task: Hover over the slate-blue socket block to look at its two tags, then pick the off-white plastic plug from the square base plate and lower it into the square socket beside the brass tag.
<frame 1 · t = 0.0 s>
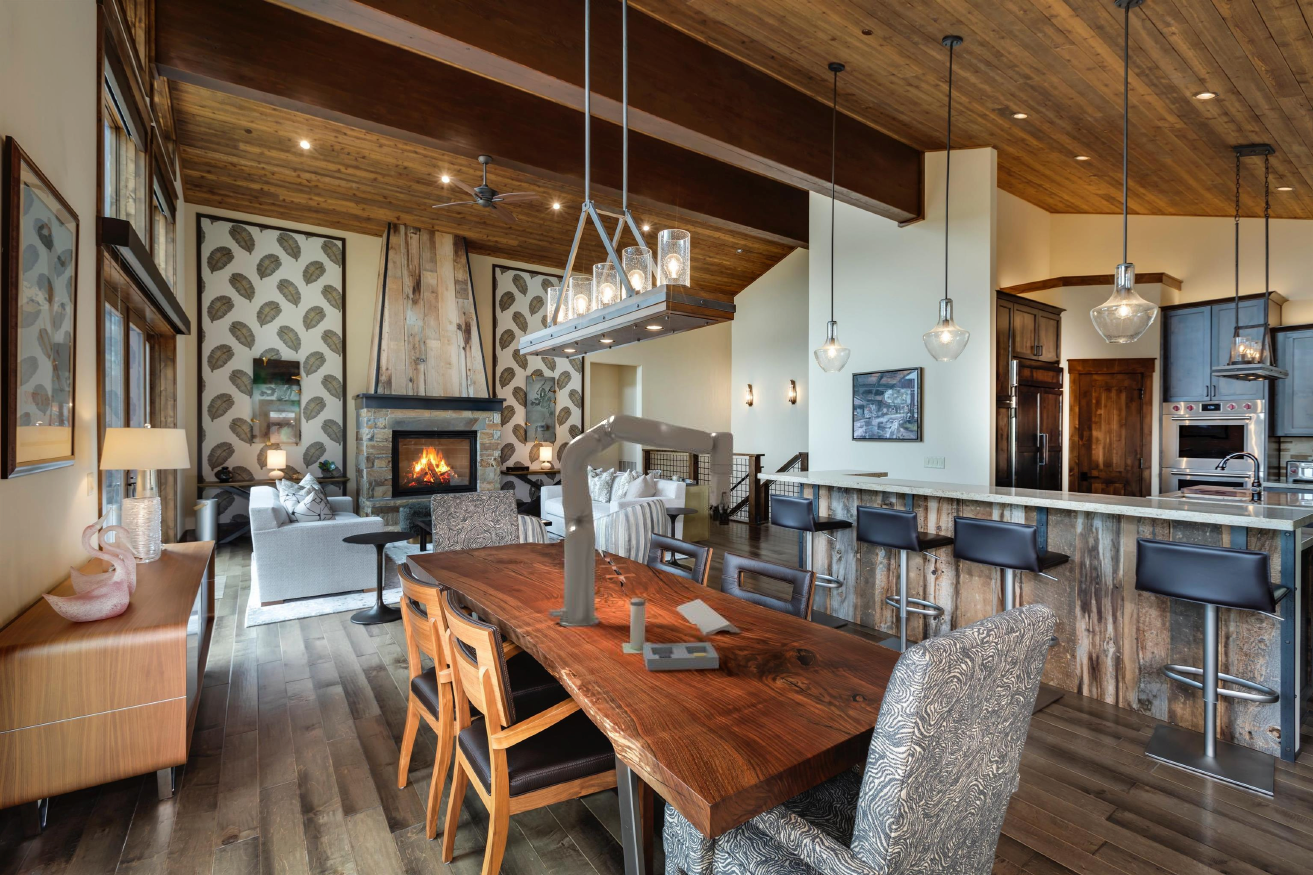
hand: (720, 523, 202), 31 cm above the table, fingers open, 9 cm apart
square base plate: (637, 651, 171), on the table
crown molding: (707, 622, 201), on the table
socket block: (679, 665, 161), on the table
plug: (637, 647, 171), point 1 cm above the table, touching square base plate
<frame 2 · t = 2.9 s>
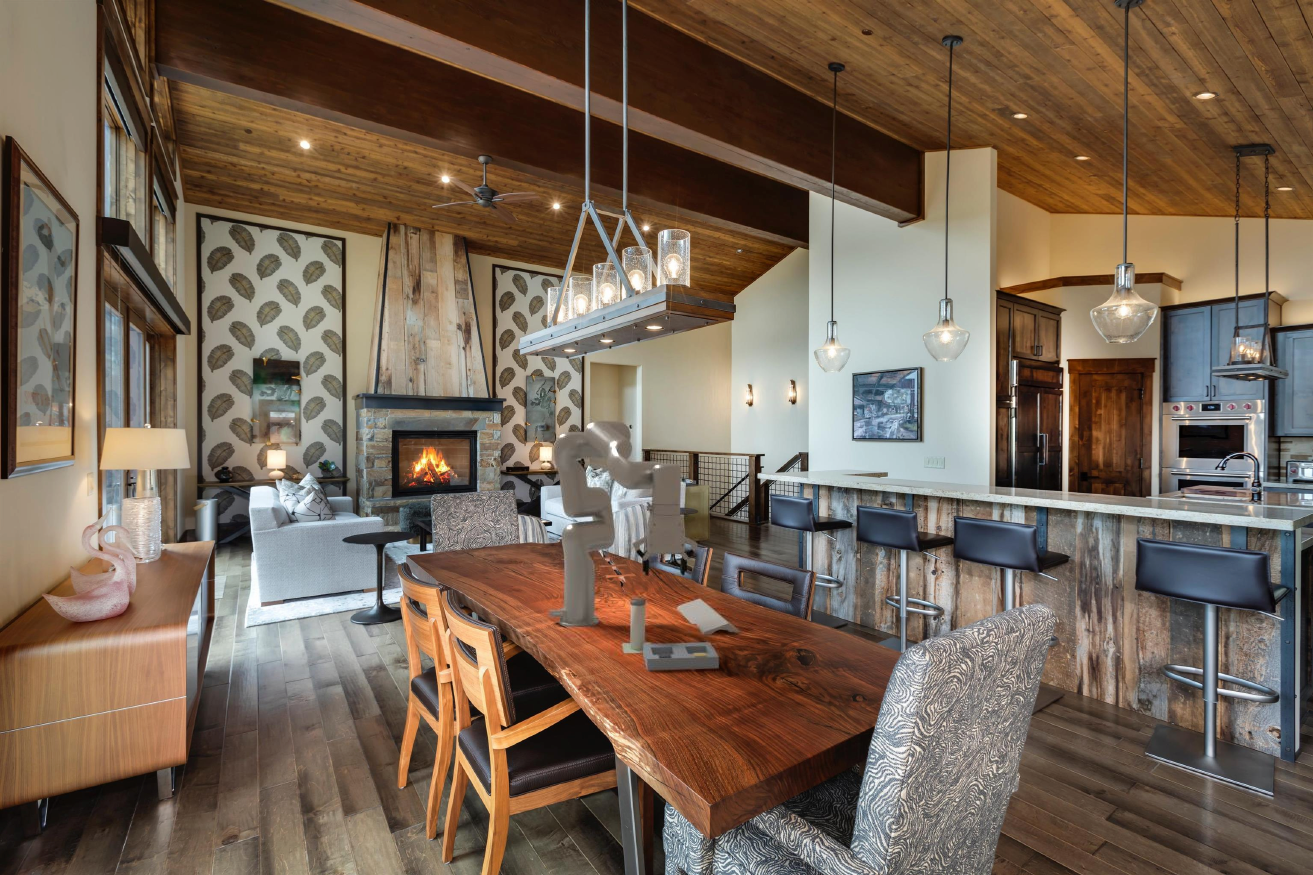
hand: (664, 574, 166), 22 cm above the table, fingers open, 9 cm apart
nothing on the table moved.
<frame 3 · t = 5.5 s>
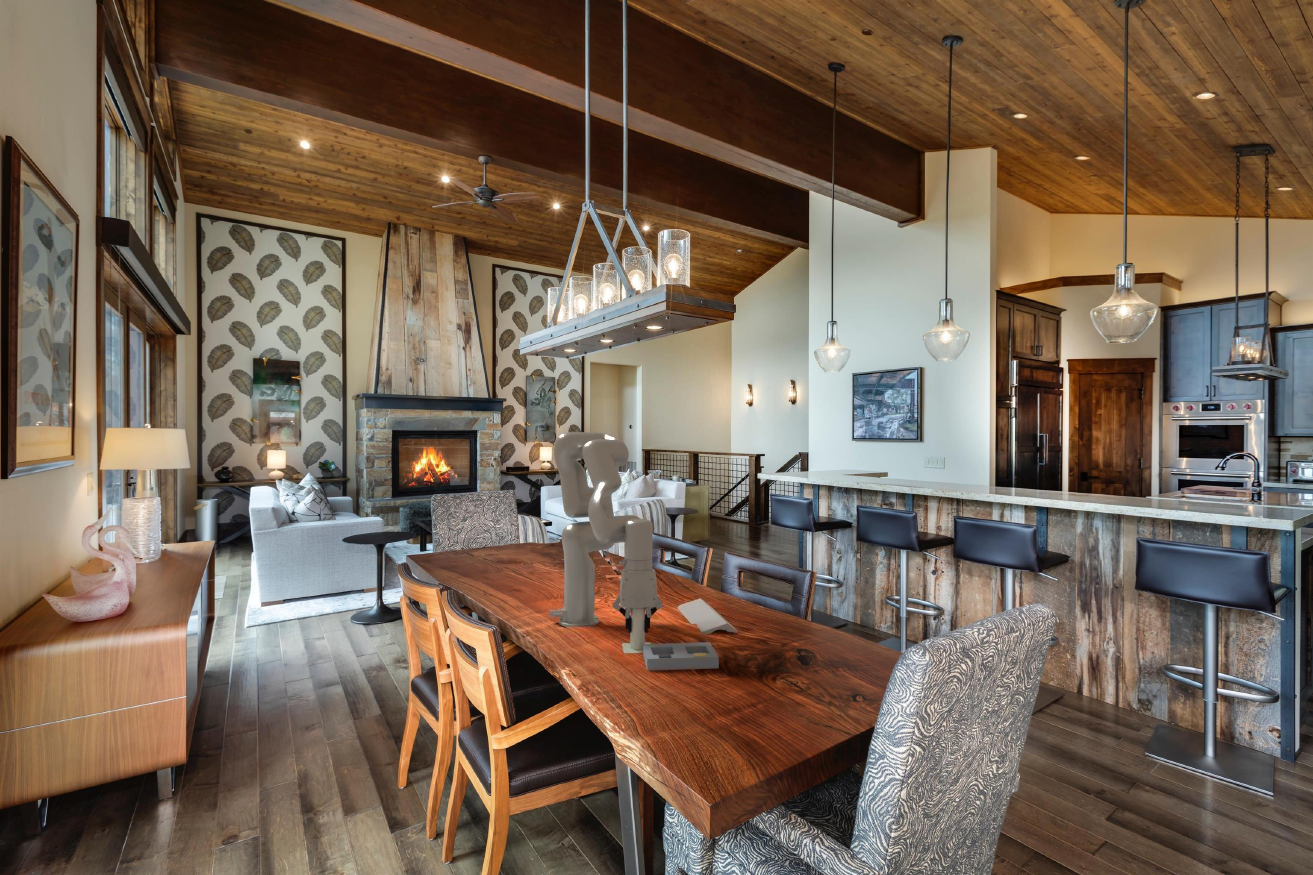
hand: (637, 630, 171), 6 cm above the table, fingers closed on plug, 4 cm apart
plug: (637, 647, 171), point 1 cm above the table, touching square base plate, gripper
everything else where it was.
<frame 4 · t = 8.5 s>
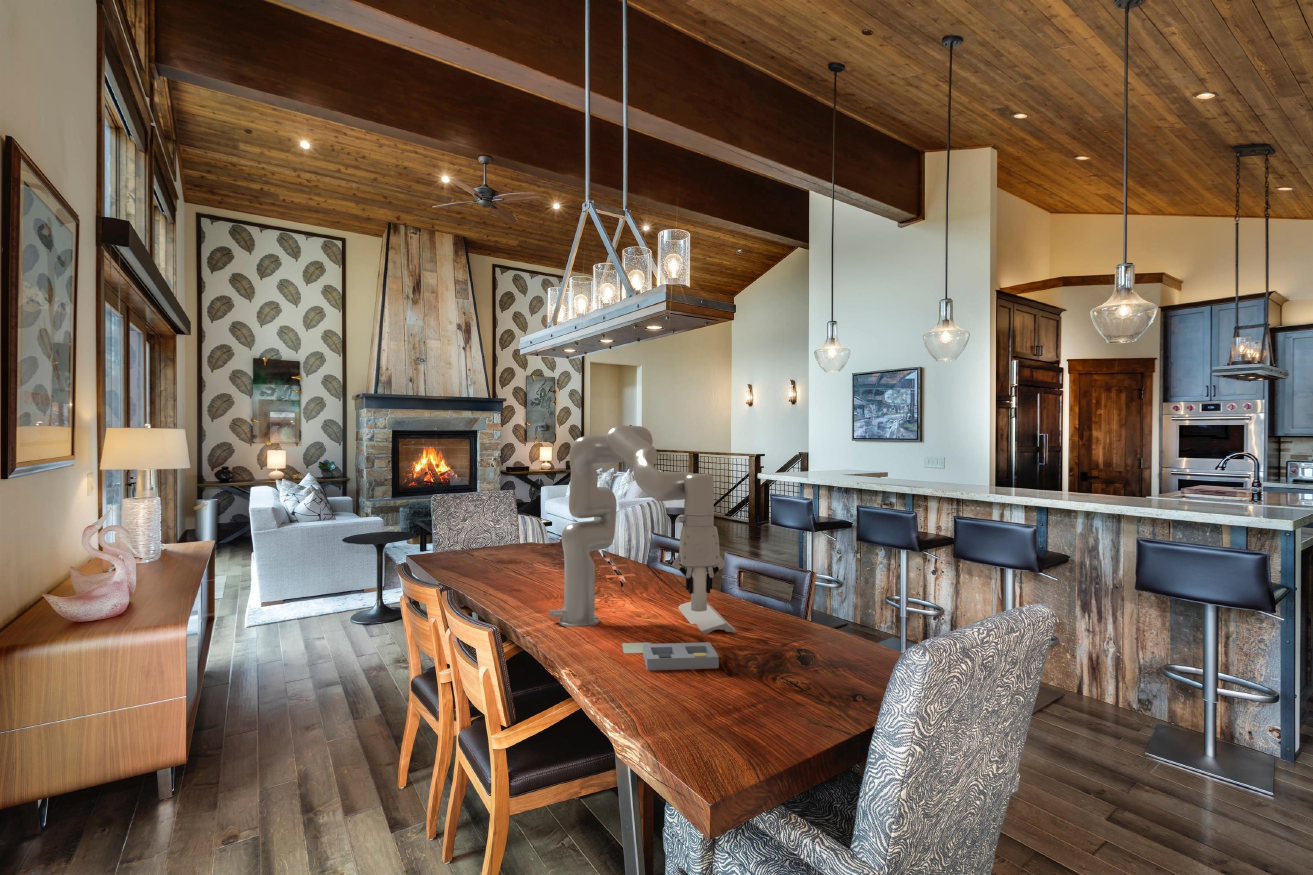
hand: (698, 591, 161), 19 cm above the table, fingers closed on plug, 4 cm apart
plug: (699, 609, 161), point 15 cm above the table, touching gripper
everything else where it was.
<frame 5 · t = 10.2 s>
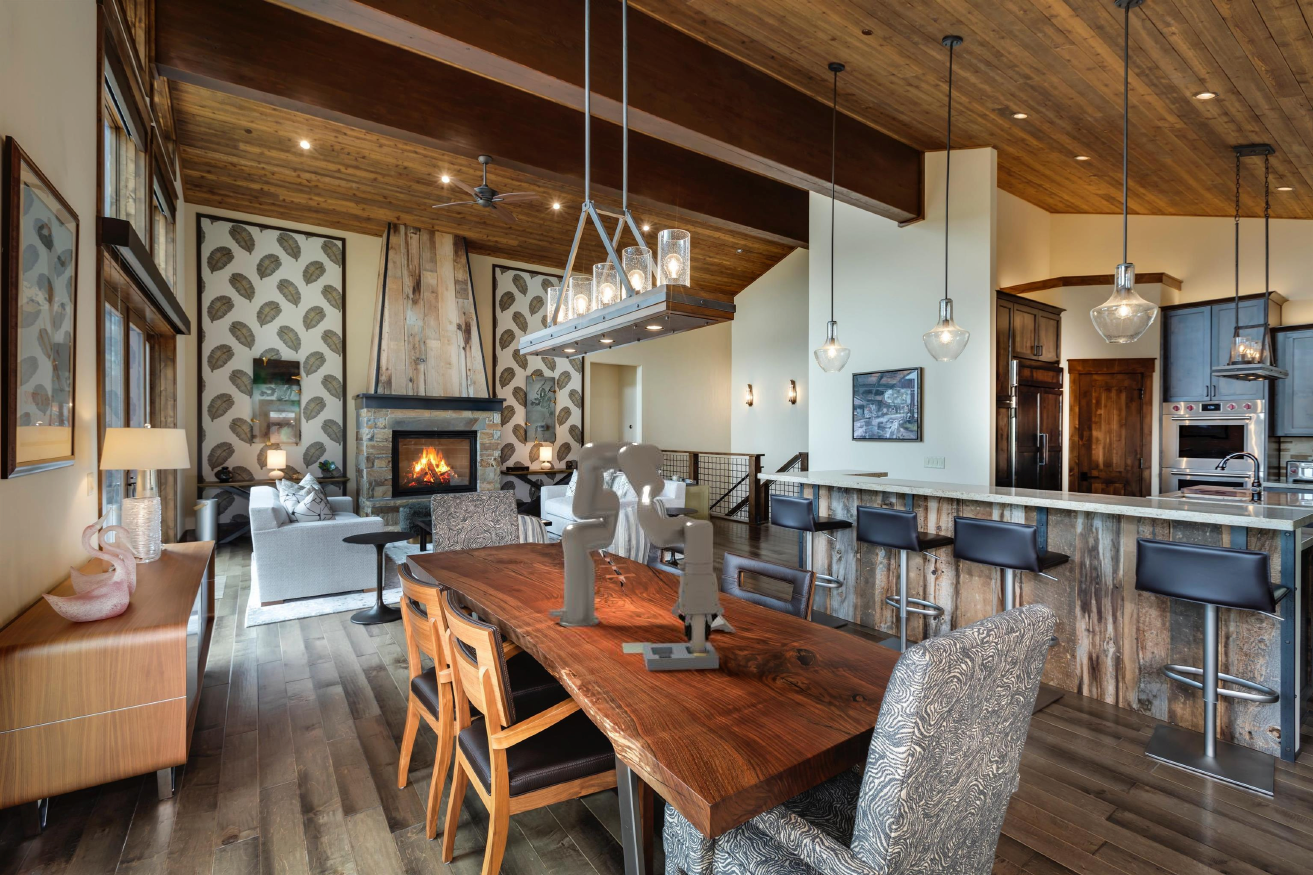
hand: (697, 638, 161), 7 cm above the table, fingers closed on plug, 4 cm apart
plug: (697, 656, 161), point 2 cm above the table, touching gripper
when the fingers open (6 cm above the table, at t = 11.5 s): plug drops 1 cm, resting in socket block.
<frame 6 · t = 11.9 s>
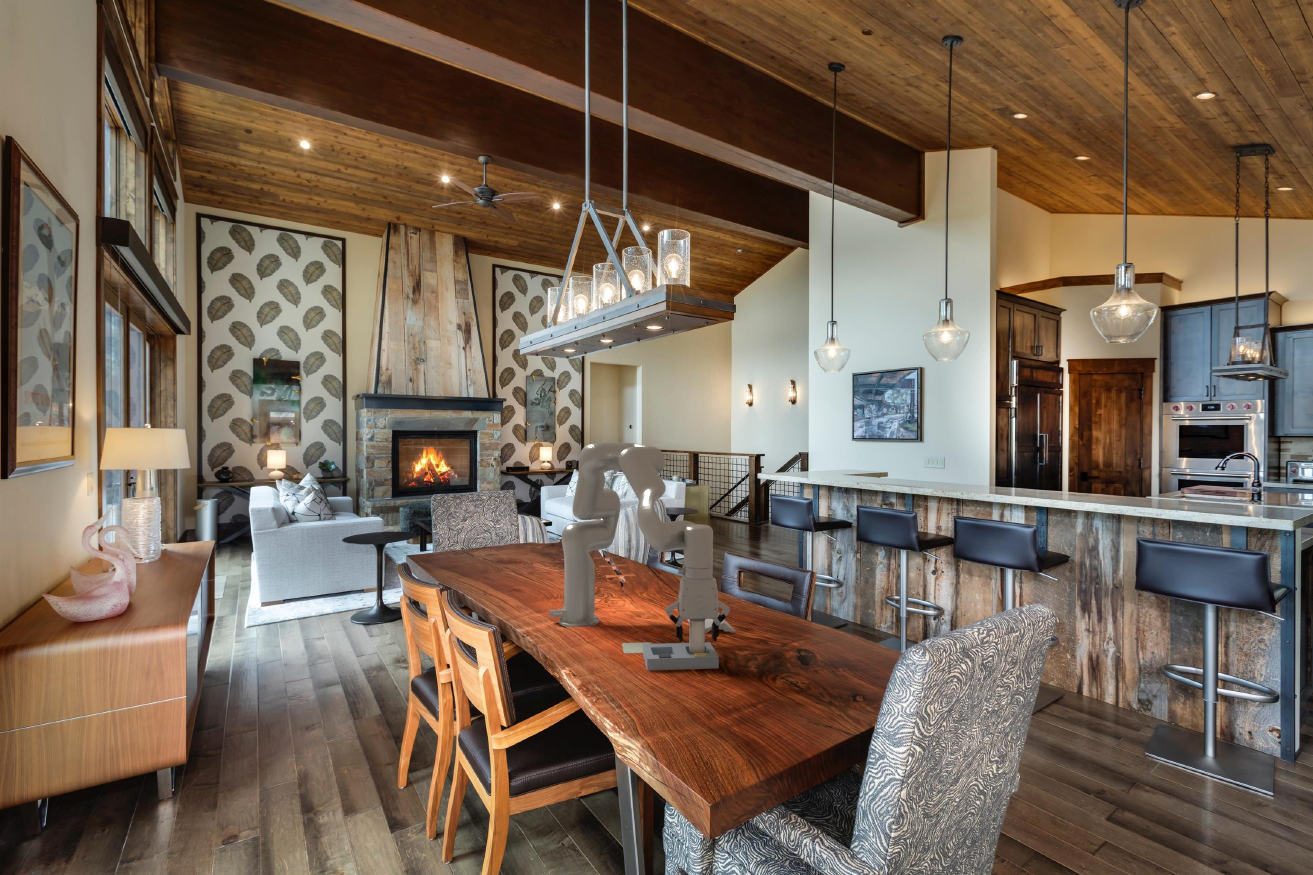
hand: (697, 639, 161), 7 cm above the table, fingers open, 8 cm apart
plug: (696, 665, 161), resting in socket block
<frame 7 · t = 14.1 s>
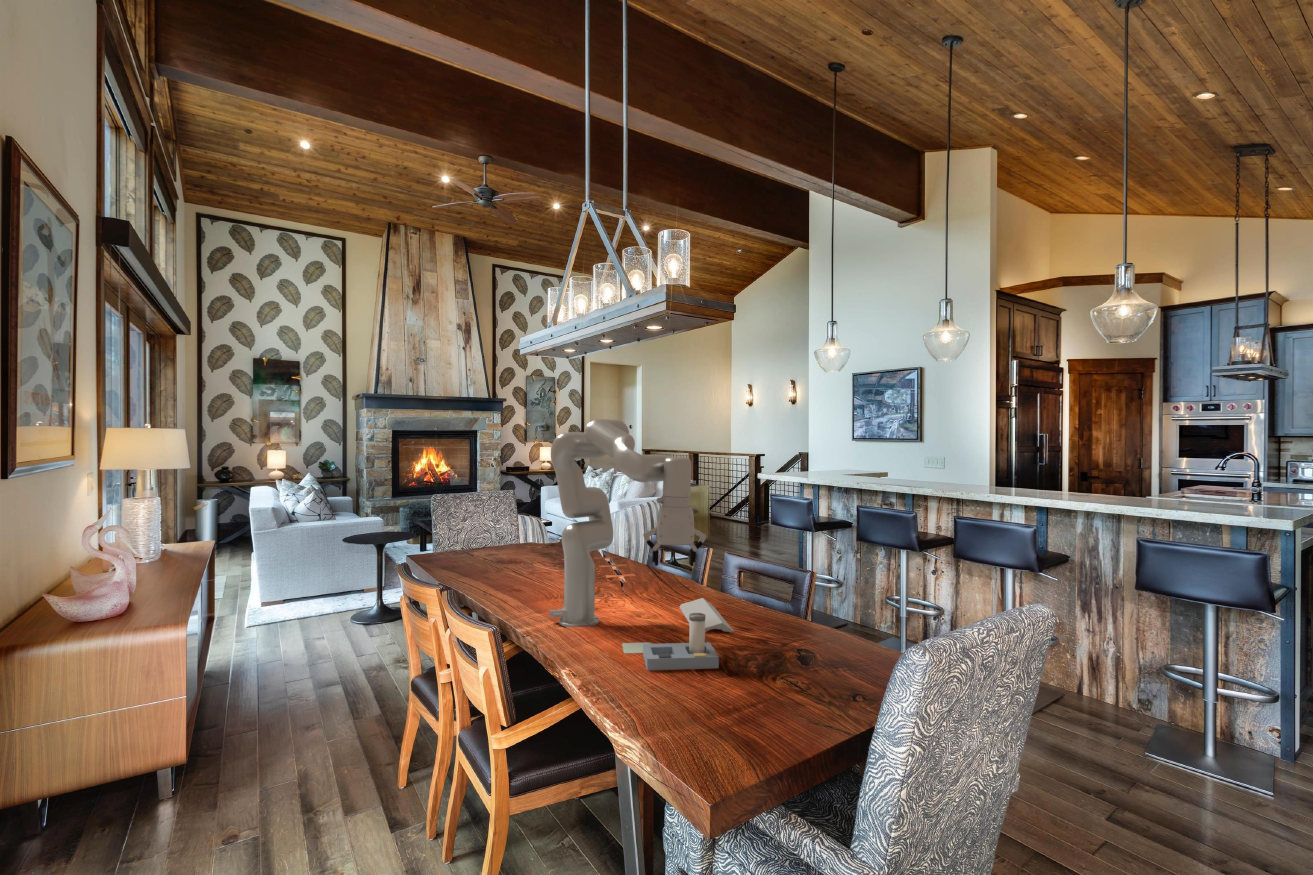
hand: (673, 564, 170), 24 cm above the table, fingers open, 9 cm apart
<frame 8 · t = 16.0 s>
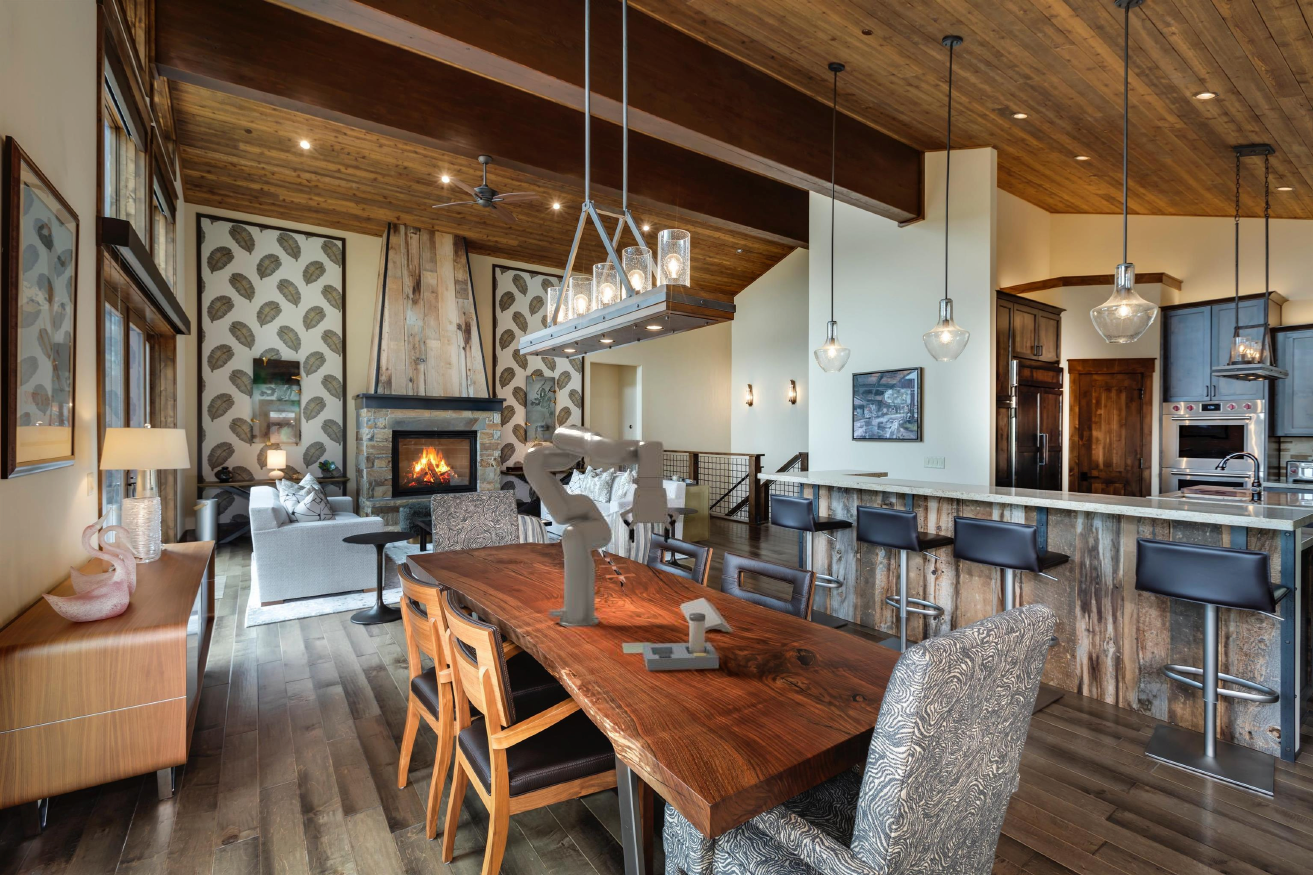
hand: (649, 542, 181), 28 cm above the table, fingers open, 9 cm apart
at the end: plug 0.0 cm from the target spot on the socket block, point 0.0 cm above the socket block's base; the gripper is holding nothing; plug tilted 0° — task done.
